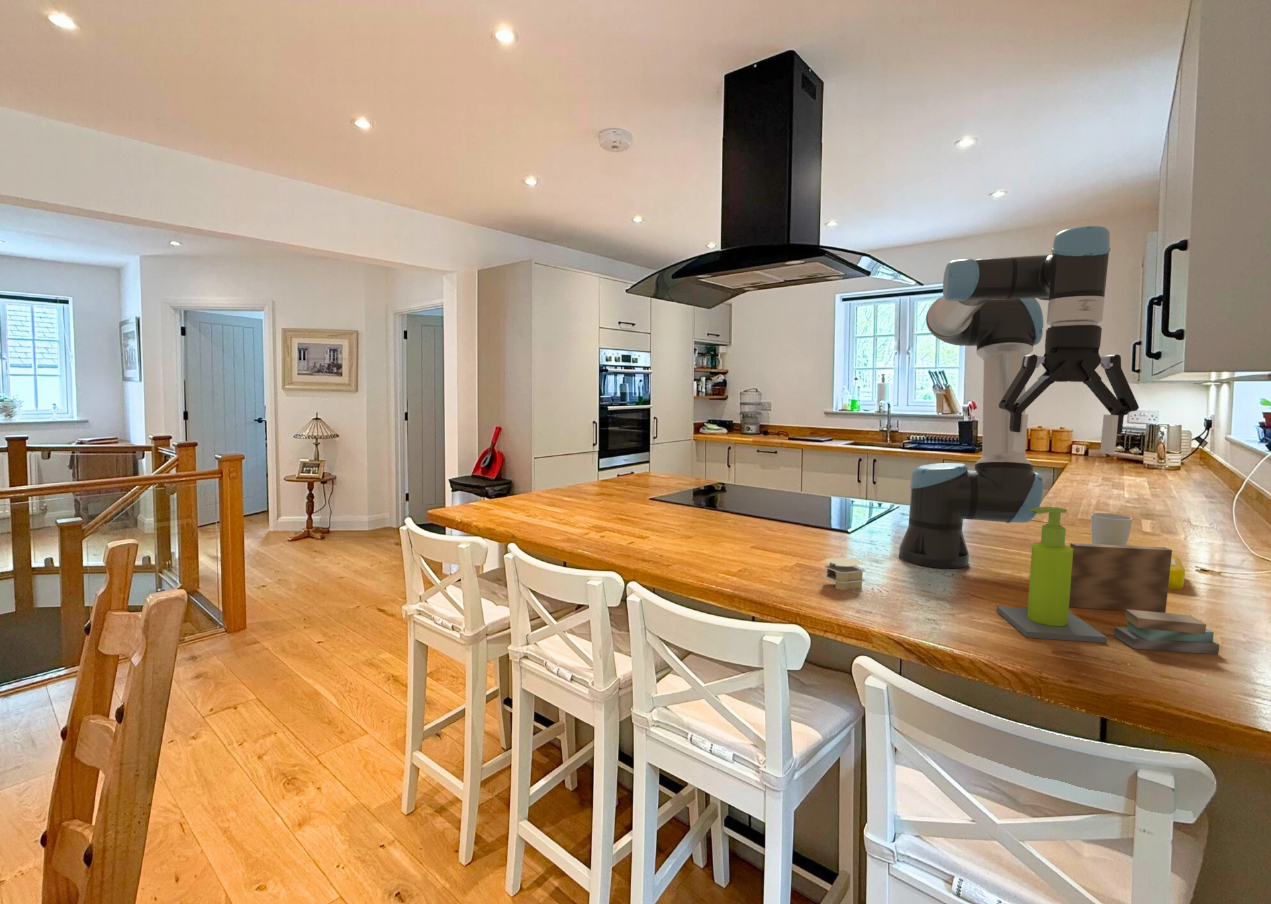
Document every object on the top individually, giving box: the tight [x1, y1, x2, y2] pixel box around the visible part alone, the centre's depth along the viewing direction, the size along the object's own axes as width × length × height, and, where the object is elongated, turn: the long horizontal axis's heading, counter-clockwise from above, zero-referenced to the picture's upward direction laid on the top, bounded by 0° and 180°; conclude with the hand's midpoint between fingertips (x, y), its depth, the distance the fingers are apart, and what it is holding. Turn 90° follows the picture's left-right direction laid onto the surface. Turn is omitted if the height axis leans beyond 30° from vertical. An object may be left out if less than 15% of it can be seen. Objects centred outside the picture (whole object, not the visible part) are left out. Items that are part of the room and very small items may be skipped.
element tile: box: [1168, 555, 1186, 590], centre depth 135 cm, size 15×15×5 cm
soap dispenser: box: [1027, 506, 1073, 626], centre depth 105 cm, size 6×7×20 cm
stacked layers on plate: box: [824, 557, 866, 591], centre depth 126 cm, size 10×9×6 cm
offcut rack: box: [1069, 542, 1220, 655], centre depth 107 cm, size 16×25×12 cm, turn 170°
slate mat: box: [995, 605, 1108, 644], centre depth 106 cm, size 12×12×1 cm
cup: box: [1090, 512, 1133, 546], centre depth 151 cm, size 8×8×10 cm
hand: (1062, 452), depth 103 cm, fingers open, 13 cm apart
